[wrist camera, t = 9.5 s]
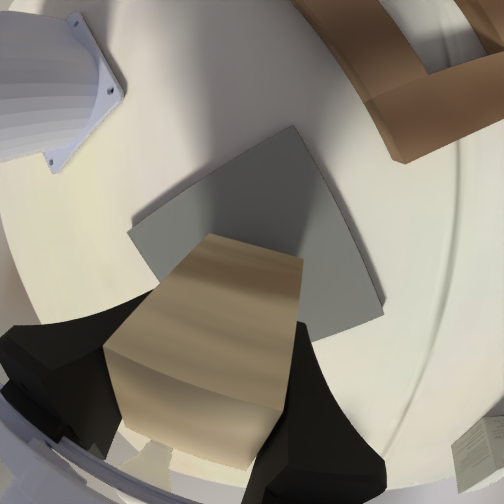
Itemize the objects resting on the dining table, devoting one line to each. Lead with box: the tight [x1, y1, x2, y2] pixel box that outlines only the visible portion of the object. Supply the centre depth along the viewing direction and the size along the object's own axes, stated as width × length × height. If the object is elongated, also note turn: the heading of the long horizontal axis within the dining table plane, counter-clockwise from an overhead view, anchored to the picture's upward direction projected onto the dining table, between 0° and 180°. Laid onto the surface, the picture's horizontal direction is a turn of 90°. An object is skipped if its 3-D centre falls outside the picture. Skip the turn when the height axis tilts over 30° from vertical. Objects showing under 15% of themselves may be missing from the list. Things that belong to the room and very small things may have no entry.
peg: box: [103, 233, 304, 471], centre depth 10 cm, size 4×4×8 cm
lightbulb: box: [115, 439, 173, 504], centre depth 21 cm, size 6×6×11 cm
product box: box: [451, 416, 504, 494], centre depth 15 cm, size 6×6×7 cm
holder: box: [290, 0, 504, 164], centre depth 7 cm, size 12×12×2 cm
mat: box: [127, 125, 384, 342], centre depth 15 cm, size 11×11×1 cm
